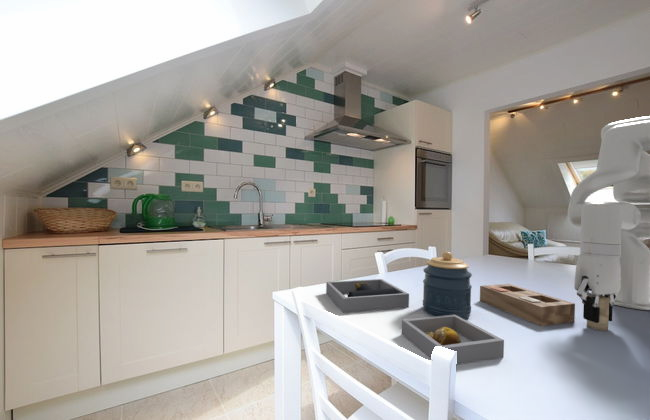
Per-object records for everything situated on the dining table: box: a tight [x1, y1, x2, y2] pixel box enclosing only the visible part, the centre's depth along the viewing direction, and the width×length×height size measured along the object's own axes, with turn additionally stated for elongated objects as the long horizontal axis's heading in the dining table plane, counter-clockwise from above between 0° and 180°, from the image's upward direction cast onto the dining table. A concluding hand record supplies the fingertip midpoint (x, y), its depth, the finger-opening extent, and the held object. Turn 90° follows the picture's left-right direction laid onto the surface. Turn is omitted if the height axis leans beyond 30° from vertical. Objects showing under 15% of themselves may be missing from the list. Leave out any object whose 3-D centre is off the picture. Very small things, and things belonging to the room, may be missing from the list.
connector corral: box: [325, 278, 410, 314], centre depth 91 cm, size 21×18×4 cm
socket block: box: [479, 283, 576, 327], centre depth 84 cm, size 12×20×5 cm, turn 16°
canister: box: [422, 251, 473, 320], centre depth 82 cm, size 13×13×18 cm
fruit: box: [425, 327, 462, 346], centre depth 63 cm, size 8×8×4 cm
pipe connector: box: [347, 283, 398, 297], centre depth 89 cm, size 12×5×15 cm
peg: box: [586, 295, 610, 332], centre depth 73 cm, size 4×4×8 cm
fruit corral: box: [401, 315, 505, 366], centre depth 62 cm, size 15×14×4 cm
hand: (597, 319), depth 73 cm, fingers closed on peg, 4 cm apart
